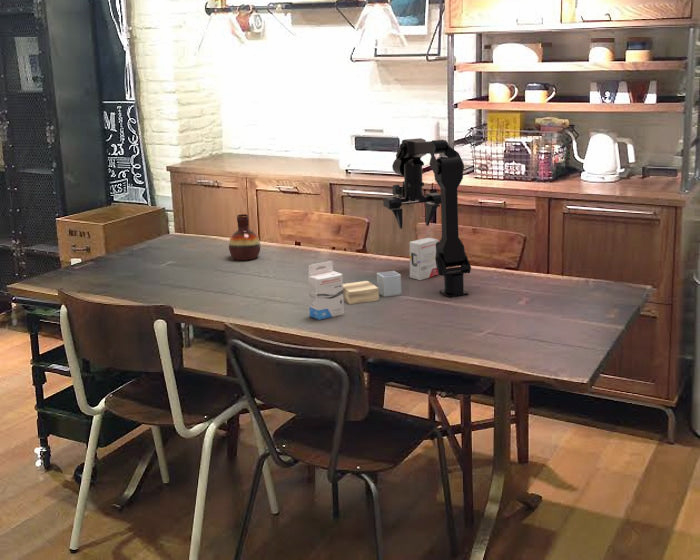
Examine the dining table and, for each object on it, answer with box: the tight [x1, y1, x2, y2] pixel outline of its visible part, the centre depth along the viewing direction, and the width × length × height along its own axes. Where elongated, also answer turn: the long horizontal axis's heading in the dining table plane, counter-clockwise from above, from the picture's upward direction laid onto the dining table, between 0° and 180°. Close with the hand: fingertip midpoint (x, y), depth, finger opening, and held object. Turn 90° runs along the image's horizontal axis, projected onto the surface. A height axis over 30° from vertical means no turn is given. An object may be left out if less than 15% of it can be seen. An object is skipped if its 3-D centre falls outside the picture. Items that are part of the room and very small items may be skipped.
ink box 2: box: [409, 237, 439, 281], centre depth 277 cm, size 9×5×12 cm, turn 129°
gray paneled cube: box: [376, 270, 402, 298], centre depth 262 cm, size 6×6×6 cm
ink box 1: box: [307, 260, 345, 321], centre depth 242 cm, size 8×5×15 cm, turn 125°
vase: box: [228, 214, 261, 261], centre depth 309 cm, size 11×11×15 cm
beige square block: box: [343, 280, 380, 305], centre depth 258 cm, size 9×9×4 cm
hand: (414, 227), depth 282 cm, fingers open, 9 cm apart
